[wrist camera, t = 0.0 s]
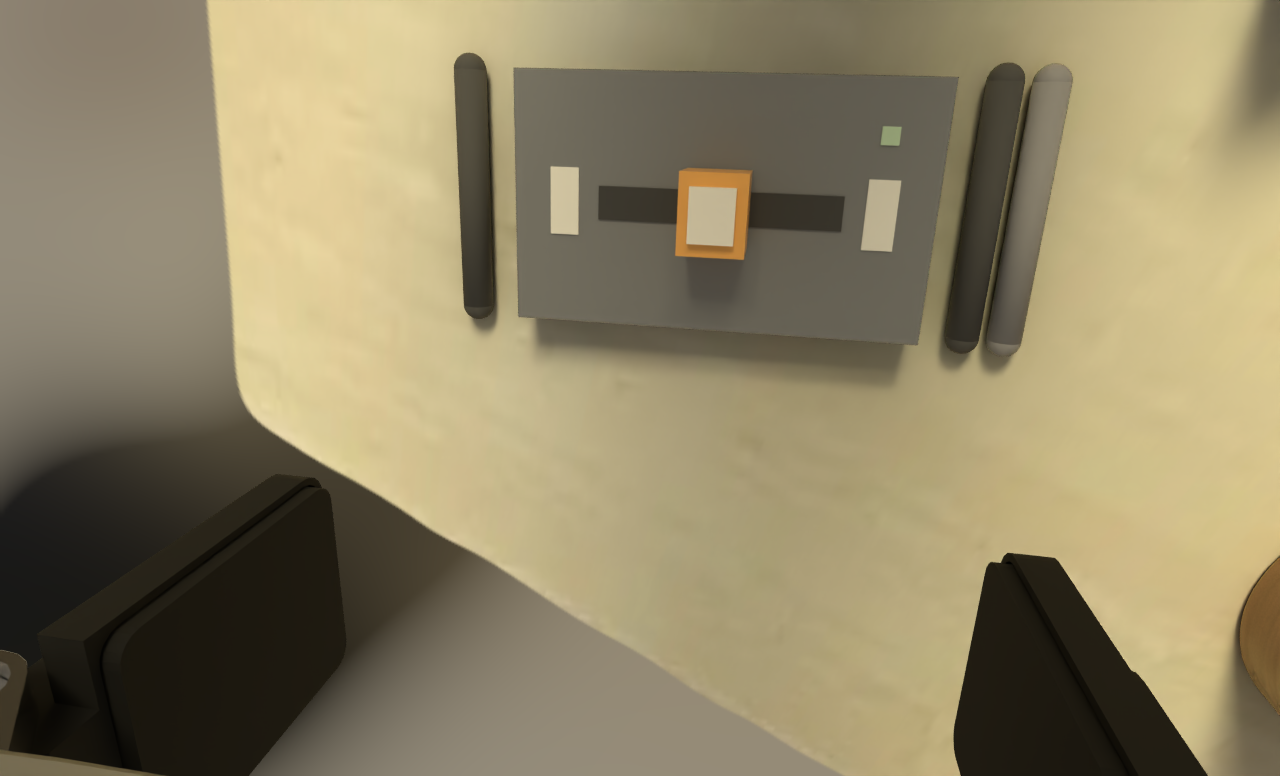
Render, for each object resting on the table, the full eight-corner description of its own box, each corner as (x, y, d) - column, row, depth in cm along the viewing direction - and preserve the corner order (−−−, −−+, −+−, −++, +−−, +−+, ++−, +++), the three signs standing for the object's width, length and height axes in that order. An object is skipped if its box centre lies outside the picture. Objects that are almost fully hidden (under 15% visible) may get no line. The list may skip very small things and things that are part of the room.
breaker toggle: (688, 167, 36) (677, 171, 32) (752, 170, 35) (750, 174, 32) (684, 245, 37) (674, 257, 33) (746, 248, 36) (743, 261, 33)
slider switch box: (532, 72, 39) (512, 67, 36) (944, 81, 36) (959, 76, 33) (535, 304, 43) (517, 317, 40) (907, 330, 40) (918, 345, 37)
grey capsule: (985, 63, 35) (994, 60, 34) (1022, 64, 35) (1033, 61, 34) (939, 347, 40) (945, 356, 38) (971, 350, 39) (979, 358, 38)
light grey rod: (1031, 64, 35) (1042, 61, 33) (1068, 65, 35) (1081, 62, 33) (980, 350, 39) (988, 359, 38) (1012, 353, 39) (1022, 361, 38)
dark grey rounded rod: (460, 53, 39) (448, 50, 38) (490, 54, 39) (479, 51, 37) (471, 314, 43) (460, 320, 42) (498, 316, 43) (487, 322, 42)
